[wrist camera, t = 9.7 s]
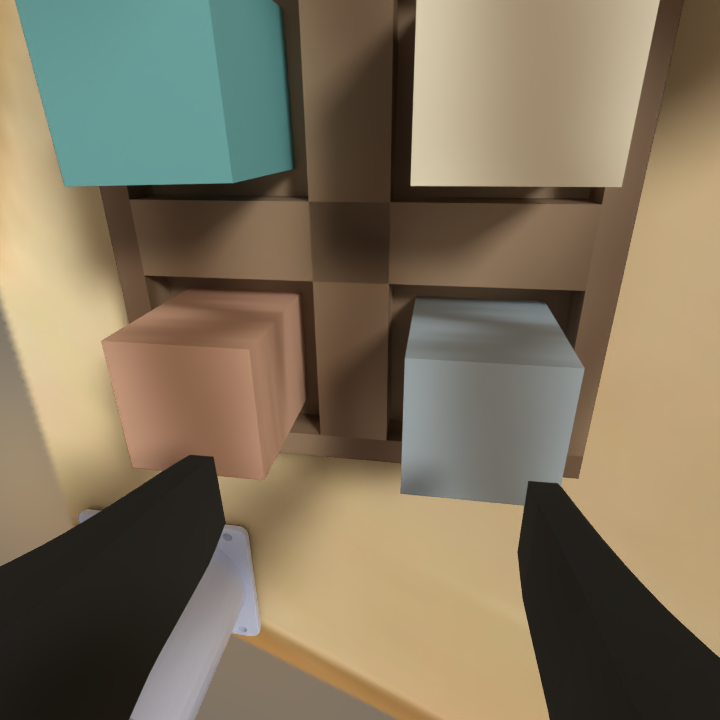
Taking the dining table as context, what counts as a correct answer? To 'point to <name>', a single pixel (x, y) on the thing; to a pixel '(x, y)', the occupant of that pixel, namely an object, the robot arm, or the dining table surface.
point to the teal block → (162, 89)
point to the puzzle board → (402, 249)
